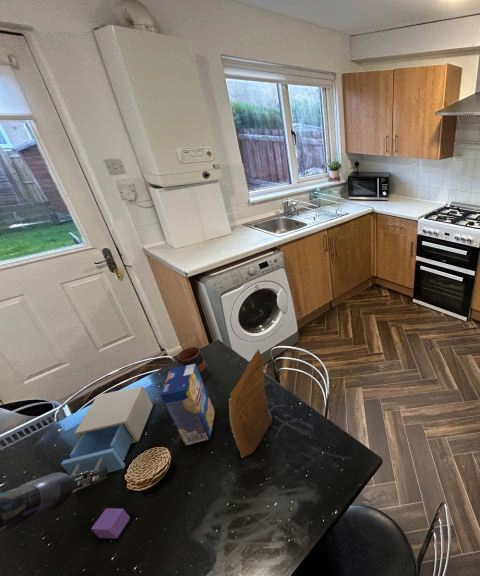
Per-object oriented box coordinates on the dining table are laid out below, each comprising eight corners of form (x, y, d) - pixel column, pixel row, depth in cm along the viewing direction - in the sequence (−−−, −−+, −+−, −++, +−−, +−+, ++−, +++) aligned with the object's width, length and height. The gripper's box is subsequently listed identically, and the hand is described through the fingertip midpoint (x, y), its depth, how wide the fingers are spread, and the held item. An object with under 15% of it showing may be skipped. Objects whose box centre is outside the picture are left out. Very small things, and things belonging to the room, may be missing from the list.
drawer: (116, 485, 84) (104, 468, 80) (65, 499, 81) (49, 482, 77) (139, 428, 99) (130, 412, 96) (97, 438, 96) (85, 422, 93)
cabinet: (138, 441, 96) (126, 421, 92) (89, 453, 93) (74, 433, 88) (153, 405, 109) (142, 385, 104) (110, 414, 105) (97, 394, 100)
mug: (172, 387, 116) (160, 364, 110) (198, 366, 125) (189, 343, 120) (189, 393, 113) (178, 370, 107) (215, 371, 123) (206, 348, 117)
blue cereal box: (214, 411, 106) (195, 363, 96) (210, 439, 97) (188, 389, 86) (192, 416, 104) (170, 368, 94) (185, 445, 95) (160, 395, 85)
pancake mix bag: (283, 411, 106) (268, 348, 92) (252, 465, 90) (228, 398, 76) (265, 408, 107) (248, 345, 94) (231, 461, 91) (204, 394, 77)
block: (99, 538, 74) (90, 529, 72) (113, 517, 78) (106, 508, 76) (116, 538, 74) (108, 529, 72) (130, 517, 78) (123, 508, 76)
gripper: (78, 467, 70) (121, 452, 86) (-4, 489, 66) (56, 468, 82) (78, 504, 68) (121, 481, 84) (-6, 528, 64) (56, 500, 80)
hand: (89, 475), depth 83 cm, fingers open, 6 cm apart
